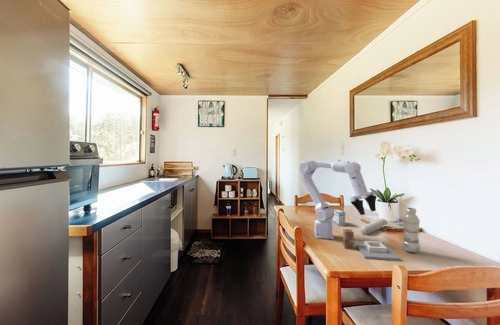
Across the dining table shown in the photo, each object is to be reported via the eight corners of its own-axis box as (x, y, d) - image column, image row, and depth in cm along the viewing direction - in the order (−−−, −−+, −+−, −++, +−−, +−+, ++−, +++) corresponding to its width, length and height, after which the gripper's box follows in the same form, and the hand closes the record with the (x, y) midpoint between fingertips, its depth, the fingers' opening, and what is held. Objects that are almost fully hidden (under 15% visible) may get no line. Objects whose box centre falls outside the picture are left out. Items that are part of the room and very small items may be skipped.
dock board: (364, 258, 95) (364, 251, 95) (353, 242, 113) (353, 236, 113) (400, 260, 93) (400, 253, 93) (383, 244, 110) (383, 238, 110)
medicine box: (333, 222, 148) (333, 209, 148) (339, 222, 149) (339, 209, 149) (338, 226, 140) (338, 212, 140) (345, 225, 141) (345, 212, 141)
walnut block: (344, 248, 106) (344, 231, 106) (343, 244, 110) (343, 229, 110) (353, 248, 106) (353, 232, 105) (351, 245, 110) (351, 229, 109)
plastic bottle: (421, 255, 97) (421, 210, 97) (402, 252, 101) (402, 209, 100) (419, 250, 103) (419, 207, 102) (401, 247, 106) (401, 206, 106)
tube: (369, 229, 121) (388, 220, 136) (360, 224, 125) (380, 216, 140) (366, 237, 123) (385, 228, 138) (357, 232, 127) (377, 223, 142)
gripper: (354, 186, 103) (364, 215, 100) (375, 181, 108) (385, 208, 106) (343, 189, 109) (352, 216, 106) (364, 184, 115) (373, 210, 112)
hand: (368, 212), depth 106 cm, fingers open, 7 cm apart
